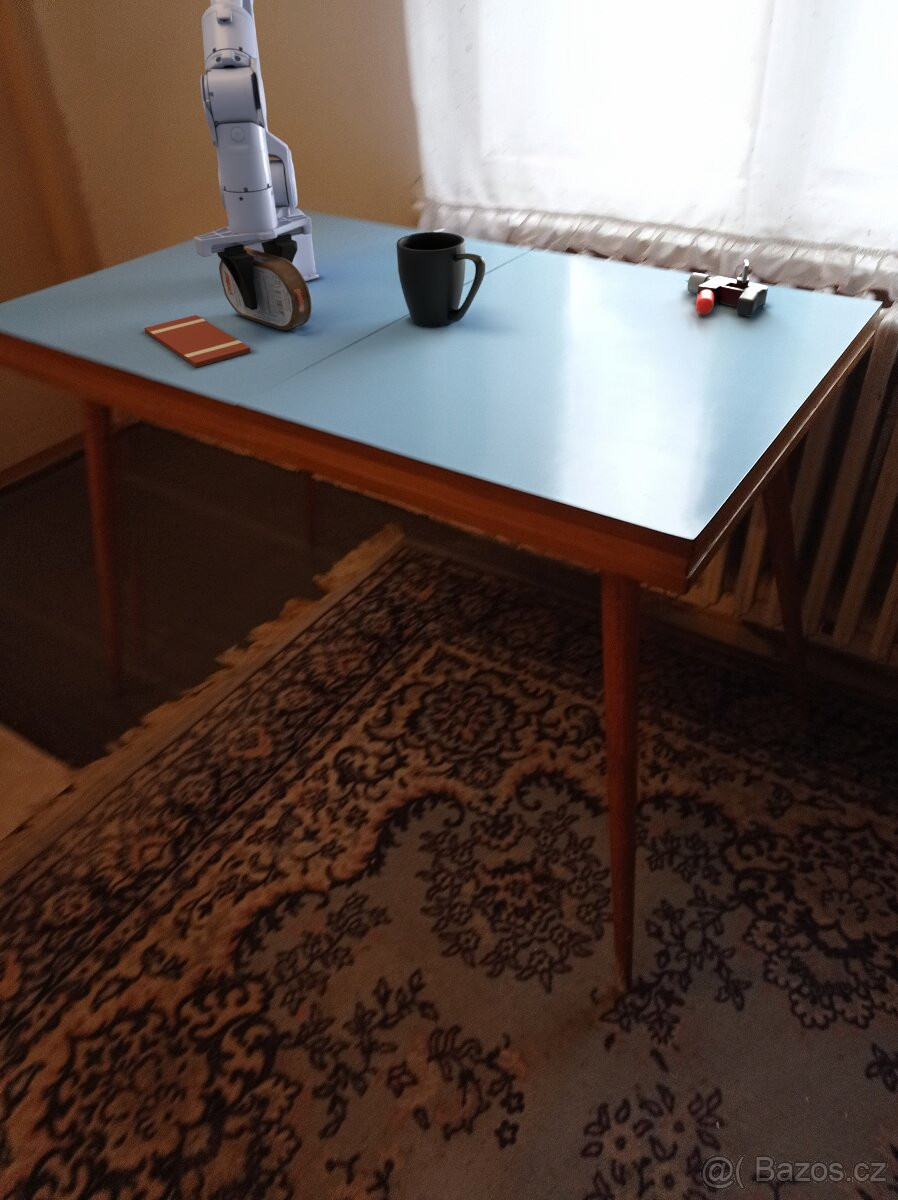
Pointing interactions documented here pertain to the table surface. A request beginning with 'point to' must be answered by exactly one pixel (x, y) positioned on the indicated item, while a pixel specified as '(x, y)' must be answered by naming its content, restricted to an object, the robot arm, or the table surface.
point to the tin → (271, 292)
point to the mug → (436, 277)
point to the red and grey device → (727, 292)
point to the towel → (197, 340)
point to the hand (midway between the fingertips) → (265, 304)
